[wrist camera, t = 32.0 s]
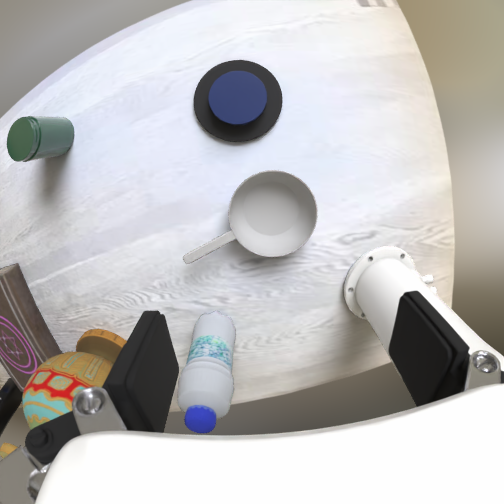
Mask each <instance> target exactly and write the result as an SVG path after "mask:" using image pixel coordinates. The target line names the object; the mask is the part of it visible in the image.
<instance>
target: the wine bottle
mask: <svg viewBox="0 0 504 504" xmlns="http://www.w3.org/2000/svg"><path fill="white" fill-rule="evenodd" d="M22 396H23V391H21V390H20V389H19V388H18V386H17V385H16V384H15V382H14V381H13V380H12V378H9V379H8V381H7V382H6V383H5V385H4V386H3V387H2V389H1V390H0V436H1V434H2V433H3V431H4V429H5V428H6V426H7V424H8V423H9V421H10V419H11V418H12V416H13V414H14V413H15V411H16V410H17V408H18V407H19V405H20V403H21V402H22Z"/></svg>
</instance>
